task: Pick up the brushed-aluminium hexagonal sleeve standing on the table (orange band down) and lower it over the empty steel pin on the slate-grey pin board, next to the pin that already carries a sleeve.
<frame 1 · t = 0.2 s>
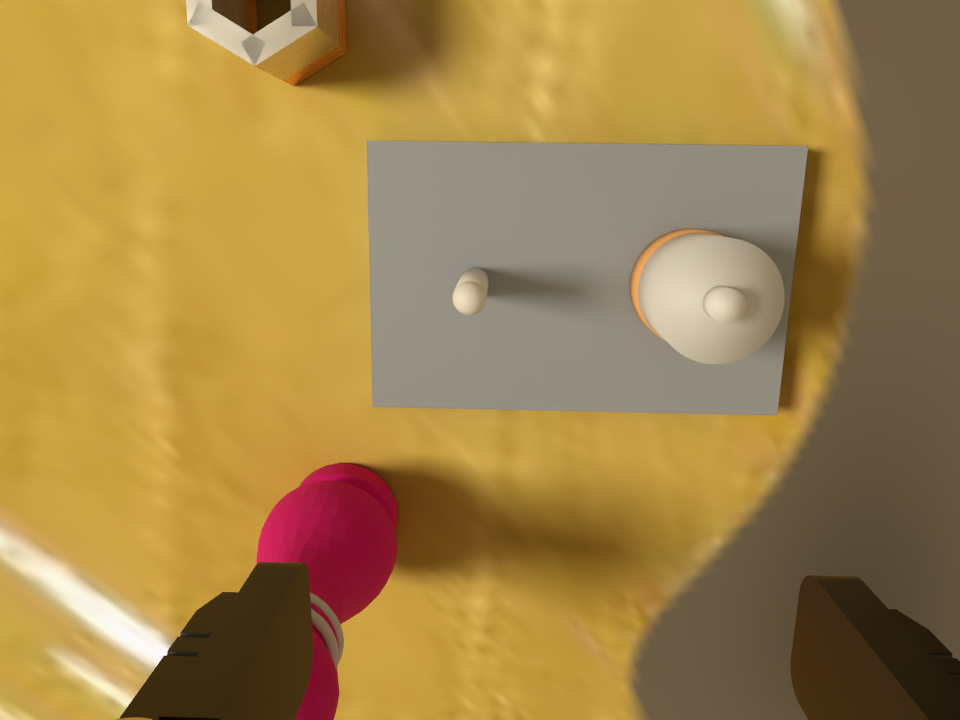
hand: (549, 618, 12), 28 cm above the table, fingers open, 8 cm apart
pin board: (576, 279, 39), on the table
sleeve: (290, 18, 36), on the table
pepper mill: (346, 510, 42), on the table
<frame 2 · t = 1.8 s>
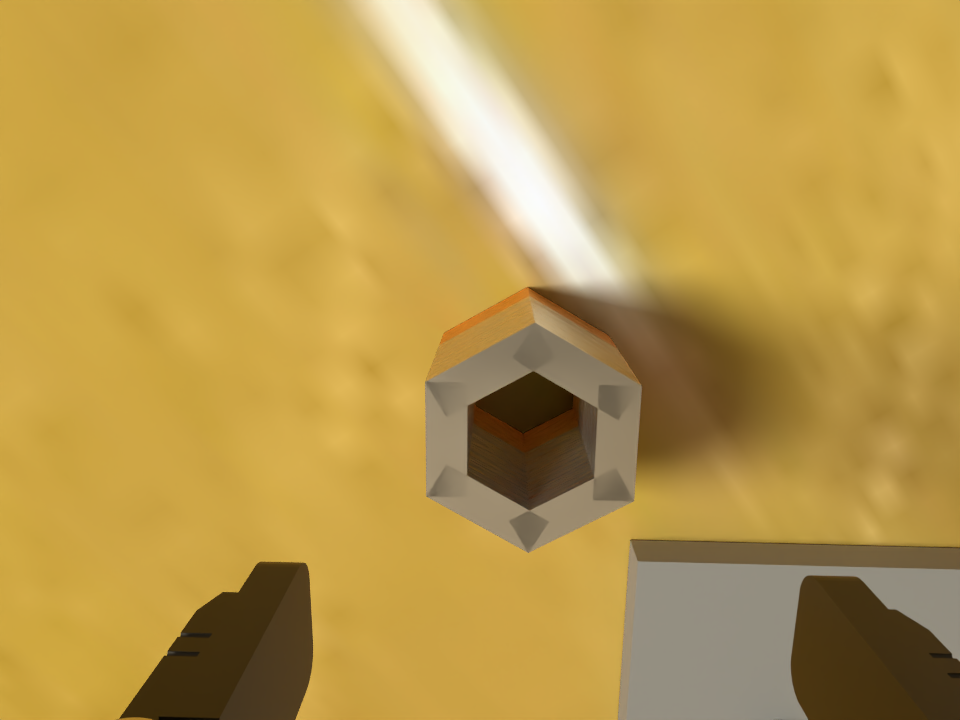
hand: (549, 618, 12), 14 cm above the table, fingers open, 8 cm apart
pin board: (905, 711, 27), on the table
sleeve: (524, 379, 25), on the table
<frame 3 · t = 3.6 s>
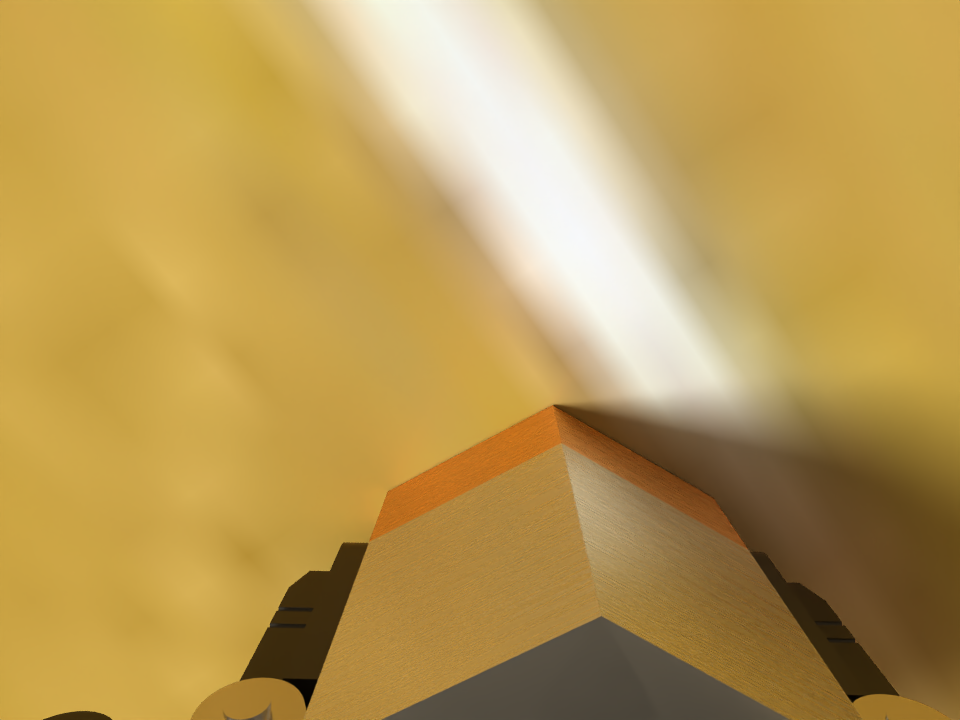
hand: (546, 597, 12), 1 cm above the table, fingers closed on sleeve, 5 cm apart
sleeve: (546, 578, 13), on the table, touching gripper
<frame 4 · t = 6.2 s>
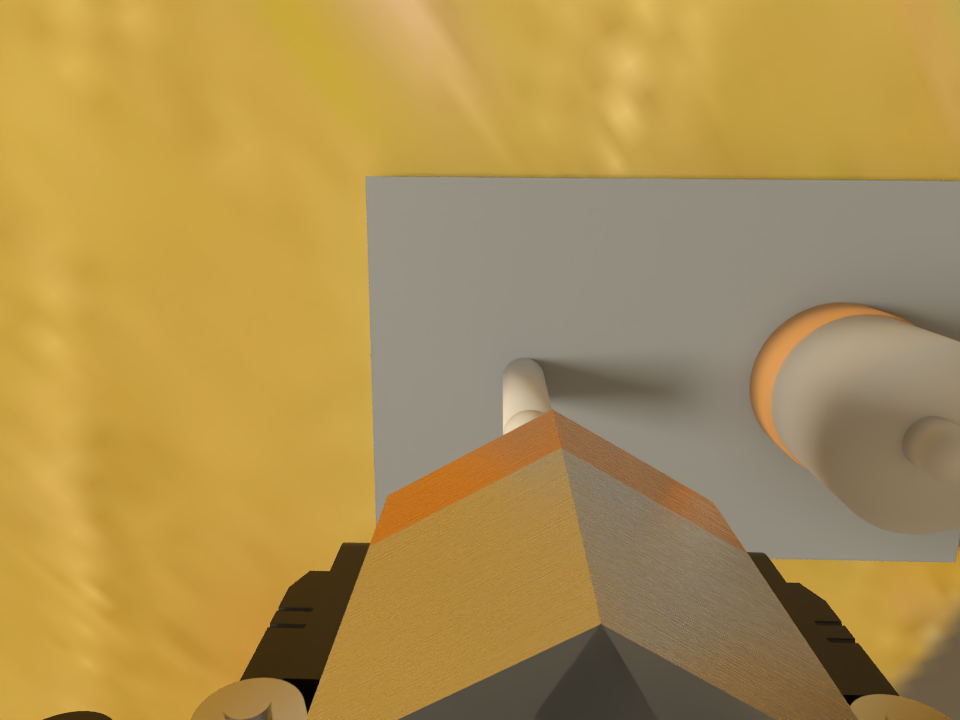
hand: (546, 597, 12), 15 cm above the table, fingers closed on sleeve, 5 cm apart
pin board: (667, 369, 27), on the table
sleeve: (546, 582, 13), point 15 cm above the table, touching gripper
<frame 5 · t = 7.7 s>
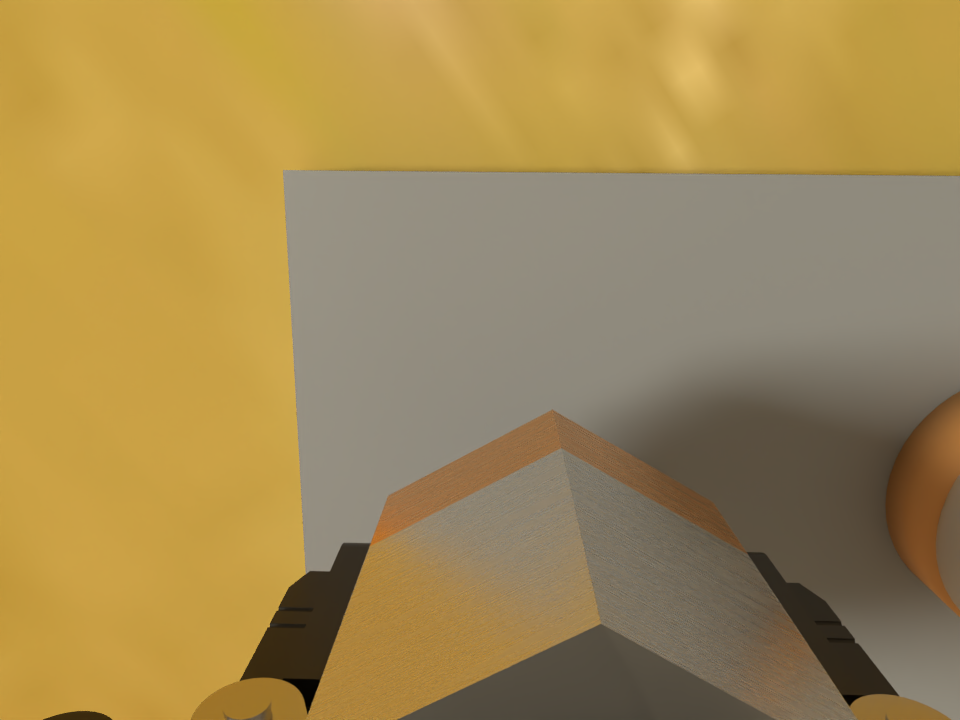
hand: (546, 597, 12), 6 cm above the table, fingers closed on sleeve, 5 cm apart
pin board: (750, 462, 18), on the table
sleeve: (546, 582, 13), point 6 cm above the table, touching gripper
when the fingers open (3 cm above the table, at t = 8.8 s): sleeve drops 1 cm, resting on pin board.
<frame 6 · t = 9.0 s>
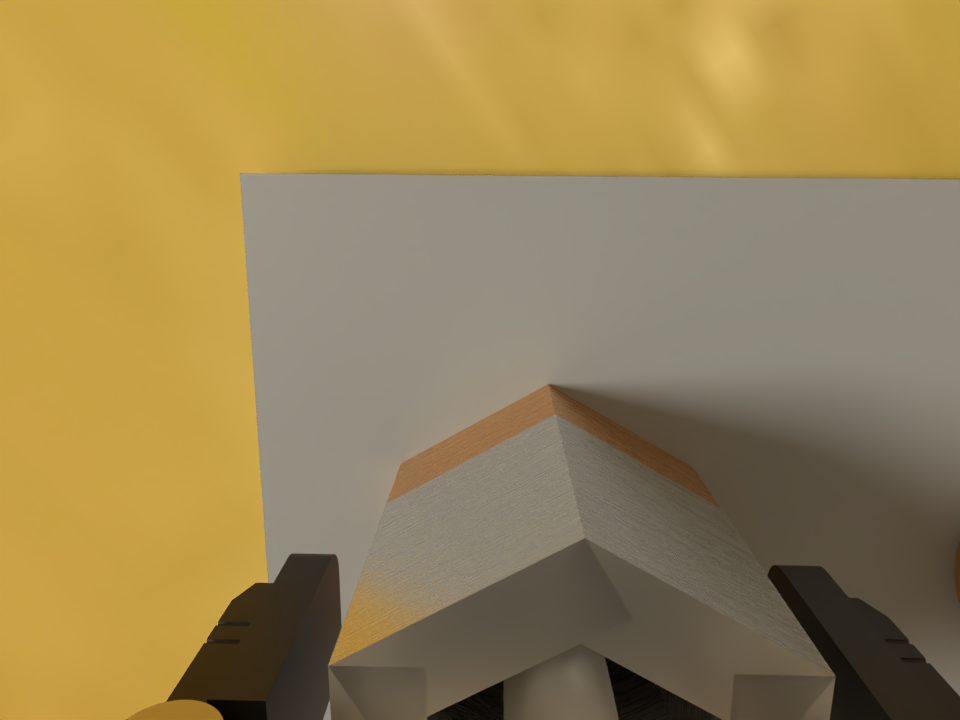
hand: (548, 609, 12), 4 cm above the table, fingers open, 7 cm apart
pin board: (791, 513, 15), on the table
sleeve: (544, 541, 14), point 1 cm above the table, touching pin board
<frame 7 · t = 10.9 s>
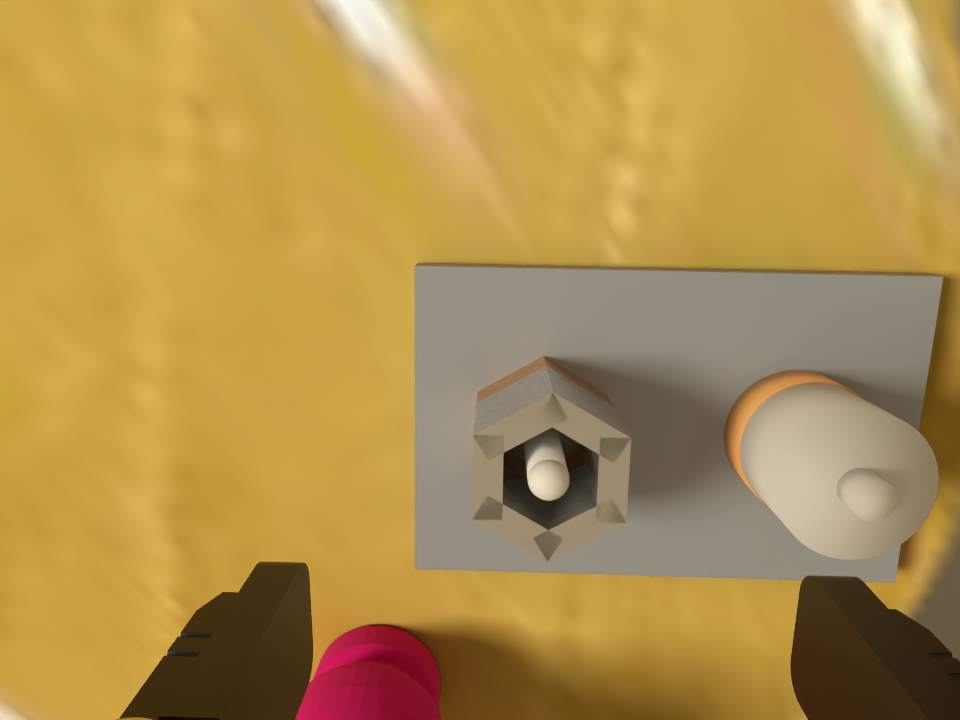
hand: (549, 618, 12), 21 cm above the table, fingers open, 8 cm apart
pin board: (657, 420, 33), on the table
sleeve: (540, 427, 31), point 1 cm above the table, touching pin board
pepper mill: (380, 676, 36), on the table
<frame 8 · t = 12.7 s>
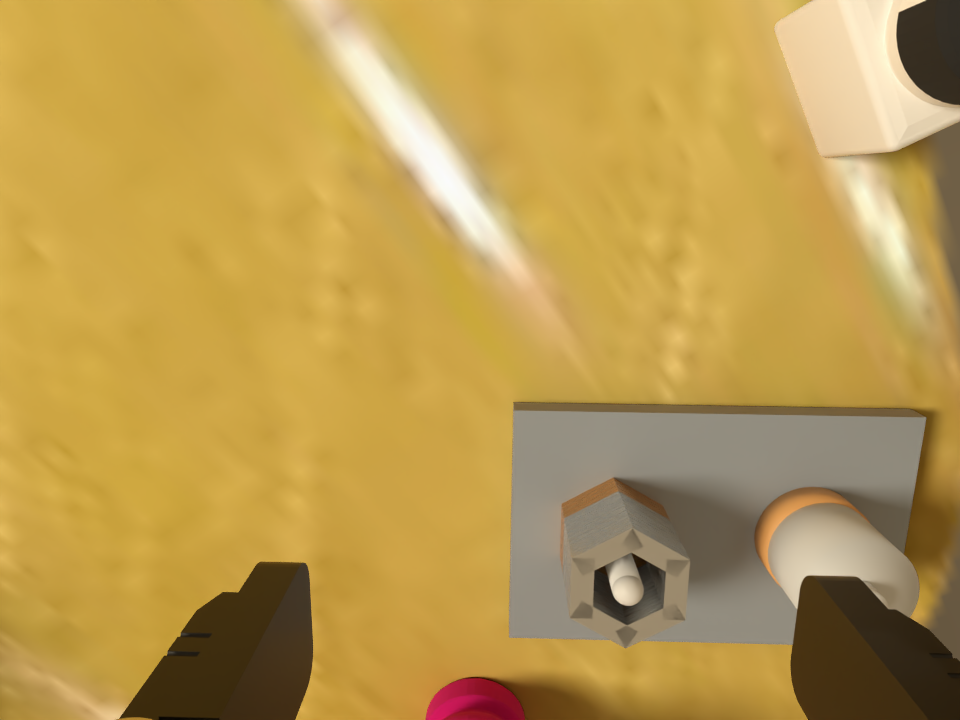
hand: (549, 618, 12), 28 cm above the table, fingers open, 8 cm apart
pin board: (700, 520, 41), on the table
sleeve: (610, 530, 40), point 1 cm above the table, touching pin board
pepper mill: (475, 716, 45), on the table
medicine bottle: (861, 61, 36), on the table
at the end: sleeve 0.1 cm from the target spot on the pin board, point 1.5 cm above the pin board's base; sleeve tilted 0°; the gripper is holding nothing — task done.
